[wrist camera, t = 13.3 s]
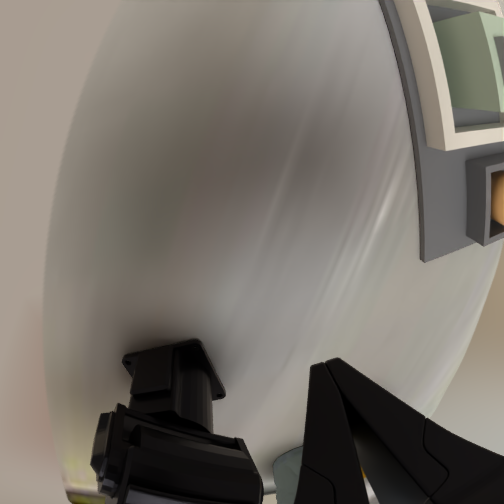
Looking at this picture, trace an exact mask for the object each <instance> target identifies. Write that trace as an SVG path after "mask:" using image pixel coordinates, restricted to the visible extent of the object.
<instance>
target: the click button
mask: <svg viewBox="0 0 504 504" xmlns="http://www.w3.org/2000/svg"><path fill="white" fill-rule="evenodd" d="M490 218H491V219H493V220H494V221H496V222H498V223H500V224H502V225H504V171H503V170H500V171H496V172H492V173H491V216H490Z"/></svg>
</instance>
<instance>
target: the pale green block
mask: <svg viewBox="0 0 504 504" xmlns="http://www.w3.org/2000/svg"><path fill="white" fill-rule="evenodd" d="M433 26H434V30H435V33H436V37H437V40H438V44H439V48H440V52H441V56H442V60H443V64H444V69H445V74H446V78H447V83H448V89H449V94H450V100H451V106H452V107H455V108H467V109H477V110H486V111H494V112H504V18H502V17H498V16H495V15H491V14H487V13H483V12H479V11H478V12H473V13H469V14H465V15H460V16H456V17H452V18H449V19H445V20H441V21H438V22H434V23H433Z"/></svg>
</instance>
